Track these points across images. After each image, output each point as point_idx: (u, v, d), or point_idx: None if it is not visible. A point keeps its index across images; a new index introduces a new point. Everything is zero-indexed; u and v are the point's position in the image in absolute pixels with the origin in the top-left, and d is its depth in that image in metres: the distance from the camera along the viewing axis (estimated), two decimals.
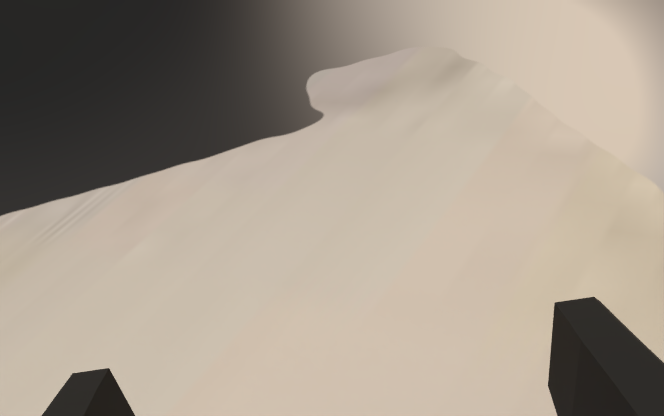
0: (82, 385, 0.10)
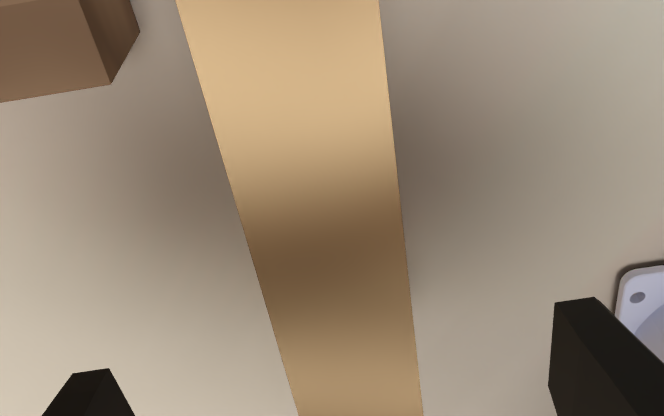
0: (82, 385, 0.10)
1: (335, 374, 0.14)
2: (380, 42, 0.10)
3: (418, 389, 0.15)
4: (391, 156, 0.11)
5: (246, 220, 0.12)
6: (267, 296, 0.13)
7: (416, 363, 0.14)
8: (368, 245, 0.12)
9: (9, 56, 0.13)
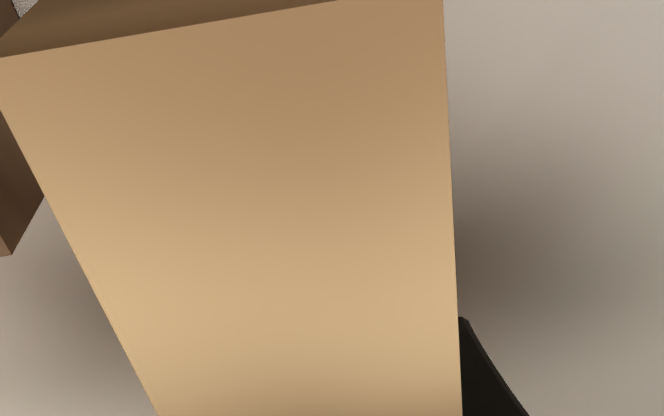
0: None
1: None
2: (451, 280, 0.05)
3: None
4: None
5: None
6: None
7: None
8: None
9: None
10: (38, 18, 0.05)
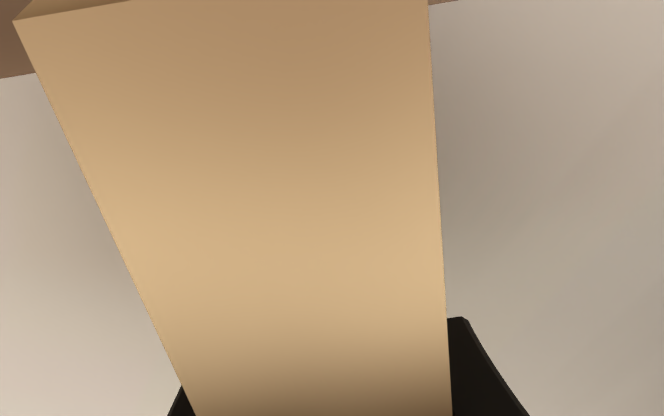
0: None
1: None
2: (436, 227, 0.06)
3: None
4: (443, 372, 0.07)
5: None
6: None
7: None
8: None
9: None
10: None
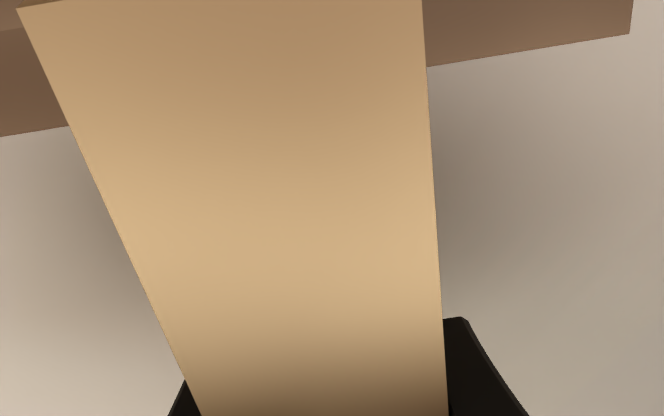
0: None
1: None
2: (431, 213, 0.06)
3: None
4: (439, 358, 0.07)
5: None
6: None
7: None
8: None
9: None
10: None
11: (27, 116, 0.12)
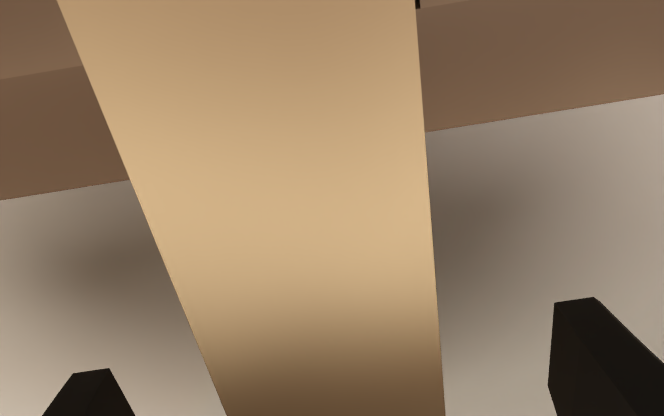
0: (82, 385, 0.10)
1: None
2: (423, 167, 0.06)
3: None
4: (432, 312, 0.08)
5: (224, 390, 0.08)
6: None
7: None
8: (395, 415, 0.09)
9: (581, 49, 0.09)
10: None
11: None
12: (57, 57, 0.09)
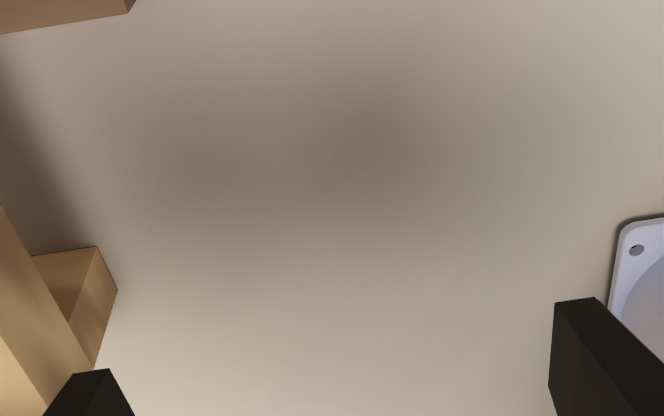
0: (82, 386, 0.10)
1: None
2: None
3: (25, 375, 0.15)
4: None
5: None
6: None
7: (8, 350, 0.15)
8: None
9: None
10: None
11: None
12: None
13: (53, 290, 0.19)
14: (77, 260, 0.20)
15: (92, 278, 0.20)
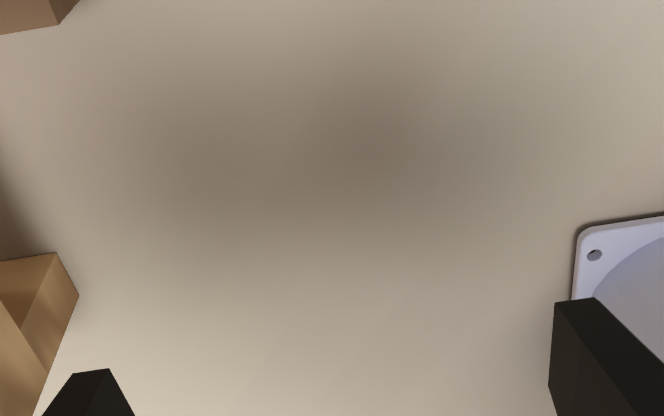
0: (81, 386, 0.10)
1: None
2: None
3: None
4: None
5: None
6: None
7: None
8: None
9: None
10: None
11: None
12: None
13: (9, 296, 0.20)
14: (35, 266, 0.21)
15: (49, 284, 0.20)
